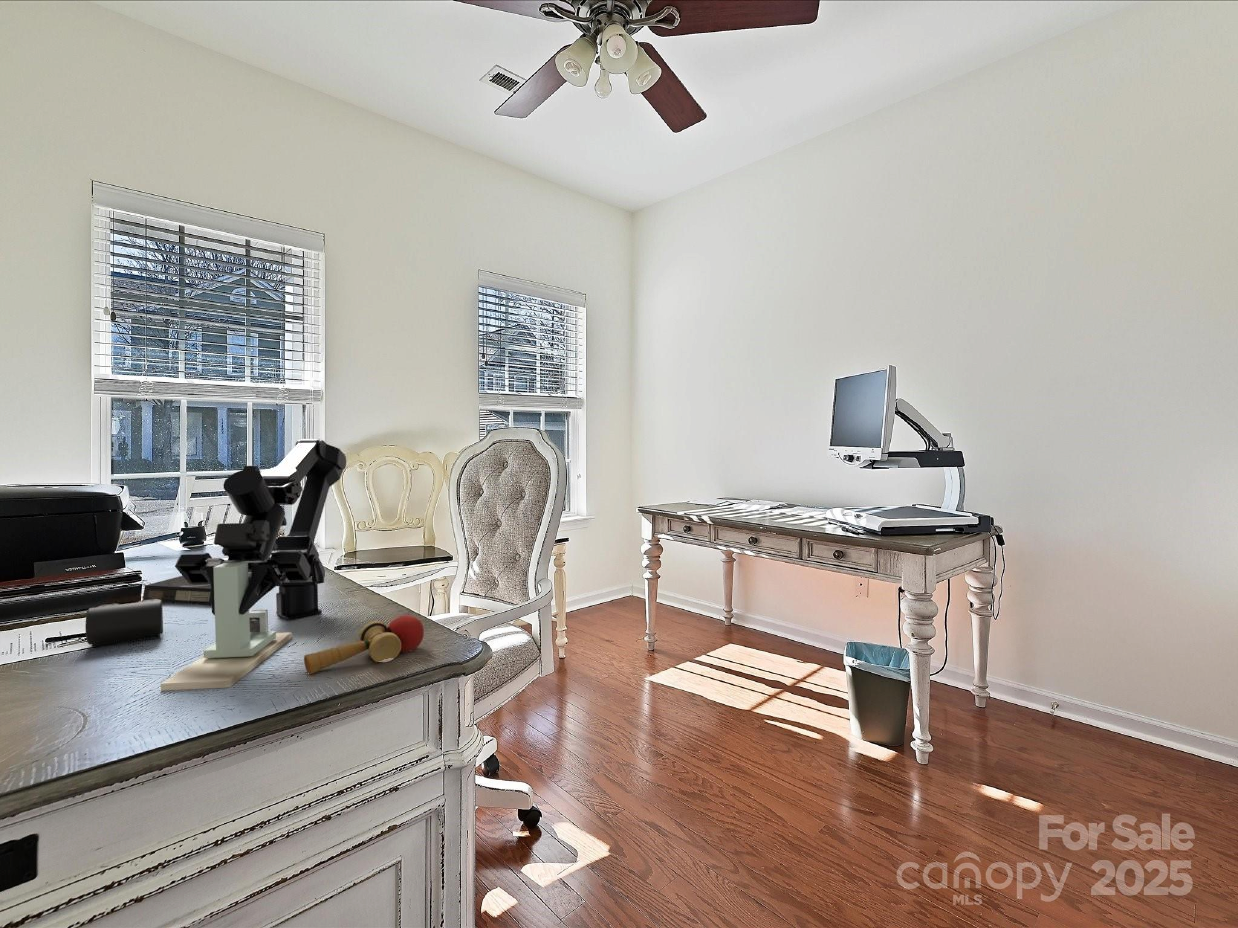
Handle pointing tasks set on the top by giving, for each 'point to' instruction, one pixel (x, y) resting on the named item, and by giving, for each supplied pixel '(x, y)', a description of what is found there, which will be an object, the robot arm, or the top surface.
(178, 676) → the board
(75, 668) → the top surface
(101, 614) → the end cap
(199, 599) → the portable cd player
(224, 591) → the tall sage green column
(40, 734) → the top surface
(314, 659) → the kendama
